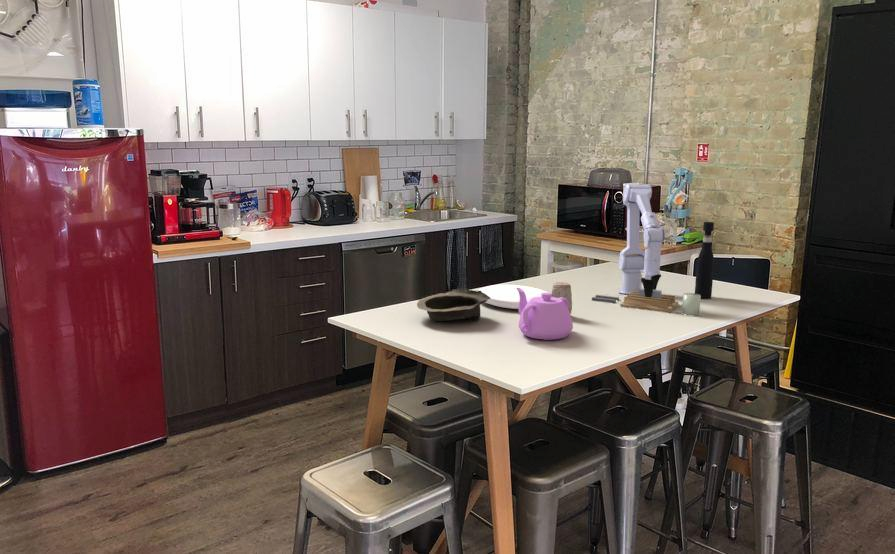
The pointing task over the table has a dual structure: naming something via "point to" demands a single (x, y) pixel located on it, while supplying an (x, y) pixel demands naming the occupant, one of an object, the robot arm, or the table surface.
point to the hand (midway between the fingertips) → (650, 295)
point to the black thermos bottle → (705, 264)
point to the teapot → (544, 317)
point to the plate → (509, 295)
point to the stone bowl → (454, 305)
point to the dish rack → (650, 302)
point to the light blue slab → (654, 295)
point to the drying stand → (605, 298)
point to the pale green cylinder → (691, 304)
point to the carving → (563, 292)
